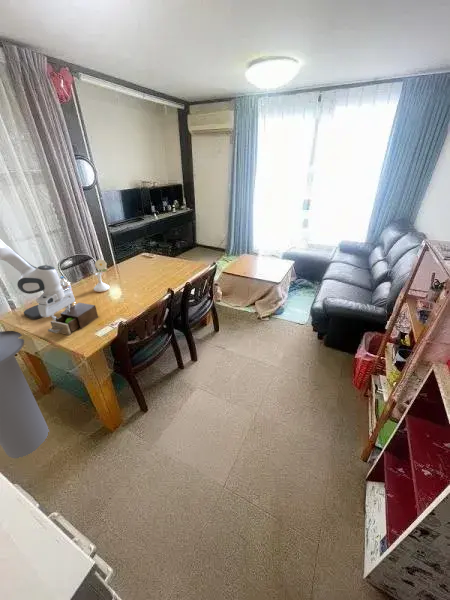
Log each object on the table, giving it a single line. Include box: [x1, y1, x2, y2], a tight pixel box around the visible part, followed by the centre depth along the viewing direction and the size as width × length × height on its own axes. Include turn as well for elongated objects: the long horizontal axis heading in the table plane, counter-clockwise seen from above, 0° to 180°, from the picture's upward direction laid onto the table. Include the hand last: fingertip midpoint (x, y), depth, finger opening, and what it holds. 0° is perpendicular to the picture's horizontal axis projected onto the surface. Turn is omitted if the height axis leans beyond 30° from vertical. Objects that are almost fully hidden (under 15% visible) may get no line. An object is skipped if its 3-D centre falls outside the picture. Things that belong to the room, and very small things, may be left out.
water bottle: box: [59, 275, 77, 311], centre depth 165 cm, size 7×7×25 cm
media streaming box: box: [23, 304, 43, 320], centre depth 167 cm, size 15×15×3 cm
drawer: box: [47, 315, 79, 336], centre depth 149 cm, size 18×11×7 cm, turn 164°
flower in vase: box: [93, 258, 110, 293], centre depth 194 cm, size 13×11×25 cm
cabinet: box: [60, 302, 99, 330], centre depth 158 cm, size 15×13×9 cm
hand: (61, 315), depth 145 cm, fingers open, 7 cm apart
